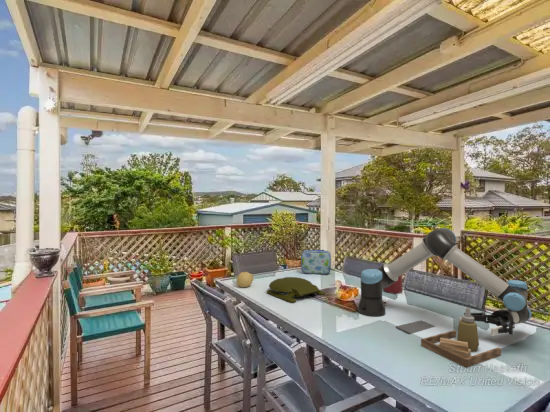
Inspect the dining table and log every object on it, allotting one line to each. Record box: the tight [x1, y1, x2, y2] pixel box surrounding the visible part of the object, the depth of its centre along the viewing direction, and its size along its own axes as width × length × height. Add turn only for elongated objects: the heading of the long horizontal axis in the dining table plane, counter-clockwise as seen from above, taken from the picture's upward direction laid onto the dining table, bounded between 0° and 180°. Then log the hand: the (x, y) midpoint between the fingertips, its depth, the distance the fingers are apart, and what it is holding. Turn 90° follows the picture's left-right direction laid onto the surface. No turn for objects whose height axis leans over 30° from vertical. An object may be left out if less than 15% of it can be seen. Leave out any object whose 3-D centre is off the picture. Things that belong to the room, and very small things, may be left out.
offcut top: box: [439, 338, 468, 352], centre depth 131 cm, size 4×10×2 cm, turn 62°
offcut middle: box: [437, 342, 472, 358], centre depth 131 cm, size 5×11×2 cm, turn 46°
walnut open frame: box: [420, 329, 502, 368], centre depth 132 cm, size 22×20×4 cm
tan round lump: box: [236, 271, 254, 288], centre depth 238 cm, size 12×12×11 cm
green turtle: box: [266, 276, 326, 304], centre depth 220 cm, size 35×31×10 cm
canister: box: [382, 274, 404, 294], centre depth 223 cm, size 13×13×18 cm
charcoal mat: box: [395, 319, 437, 335], centre depth 154 cm, size 18×18×1 cm
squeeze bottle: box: [456, 307, 480, 352], centre depth 134 cm, size 8×8×18 cm
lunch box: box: [300, 249, 332, 275], centre depth 278 cm, size 26×11×21 cm, turn 81°
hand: (475, 326), depth 136 cm, fingers open, 13 cm apart
